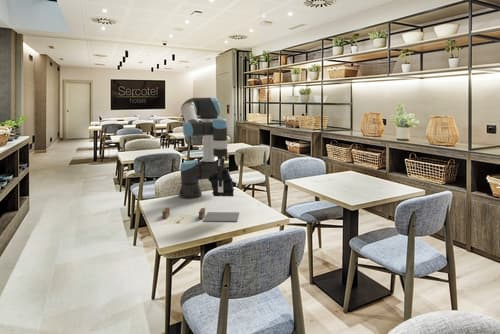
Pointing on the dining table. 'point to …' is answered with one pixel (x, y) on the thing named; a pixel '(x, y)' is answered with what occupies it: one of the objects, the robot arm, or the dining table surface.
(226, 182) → the black piece
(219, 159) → the robot arm
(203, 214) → the walnut holder
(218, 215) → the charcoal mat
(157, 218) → the dining table surface
